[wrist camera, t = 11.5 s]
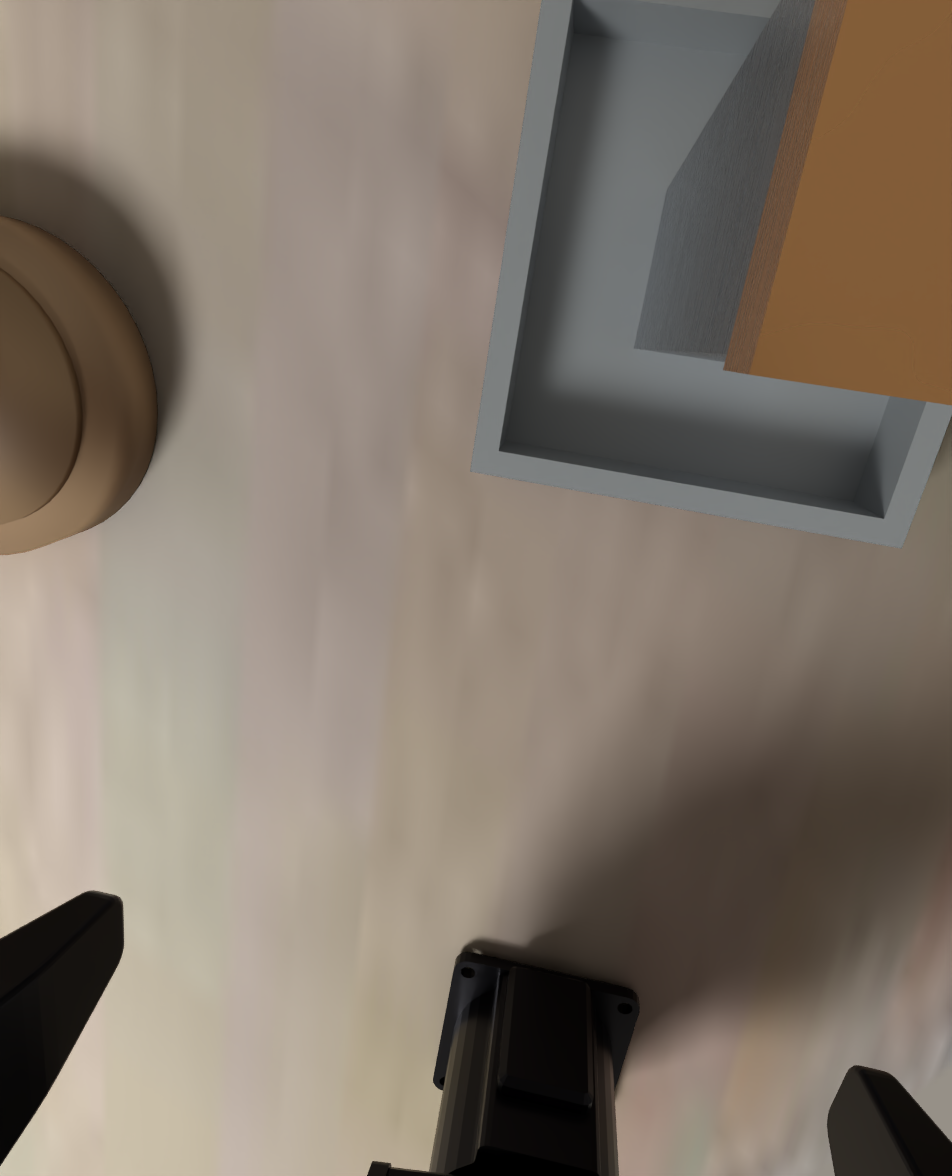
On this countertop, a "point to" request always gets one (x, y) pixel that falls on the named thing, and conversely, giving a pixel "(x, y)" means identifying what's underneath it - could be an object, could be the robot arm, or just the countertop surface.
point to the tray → (616, 293)
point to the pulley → (66, 393)
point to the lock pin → (819, 207)
